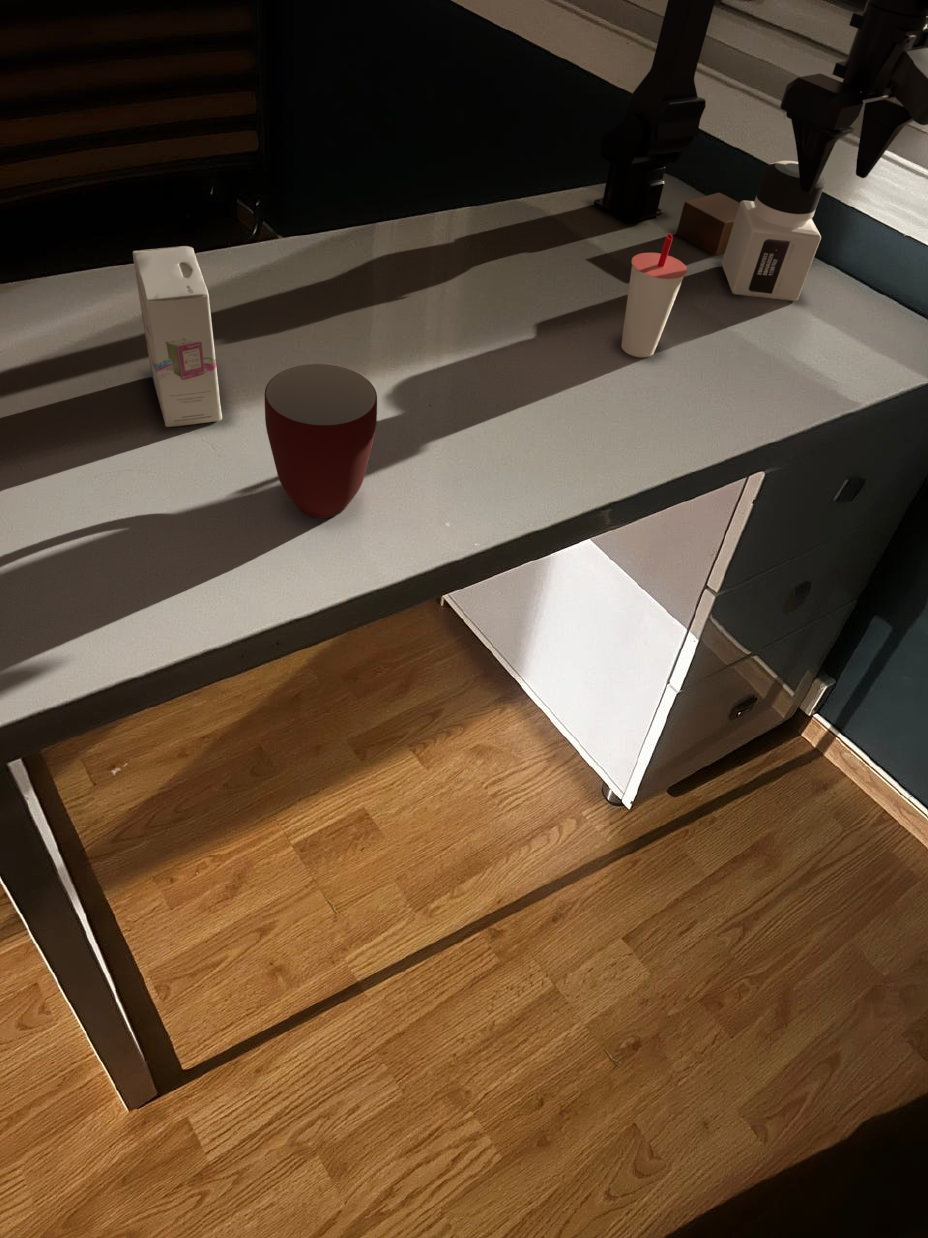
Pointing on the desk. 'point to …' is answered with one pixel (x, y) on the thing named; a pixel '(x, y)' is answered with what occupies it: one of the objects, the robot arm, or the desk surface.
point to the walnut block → (708, 222)
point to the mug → (320, 434)
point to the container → (774, 236)
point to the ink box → (178, 334)
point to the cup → (650, 299)
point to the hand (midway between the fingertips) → (833, 183)
